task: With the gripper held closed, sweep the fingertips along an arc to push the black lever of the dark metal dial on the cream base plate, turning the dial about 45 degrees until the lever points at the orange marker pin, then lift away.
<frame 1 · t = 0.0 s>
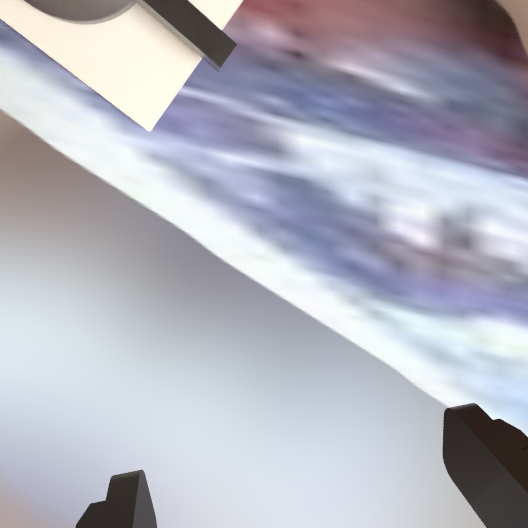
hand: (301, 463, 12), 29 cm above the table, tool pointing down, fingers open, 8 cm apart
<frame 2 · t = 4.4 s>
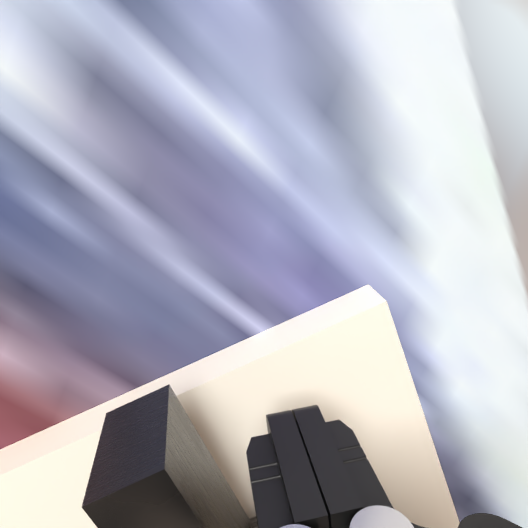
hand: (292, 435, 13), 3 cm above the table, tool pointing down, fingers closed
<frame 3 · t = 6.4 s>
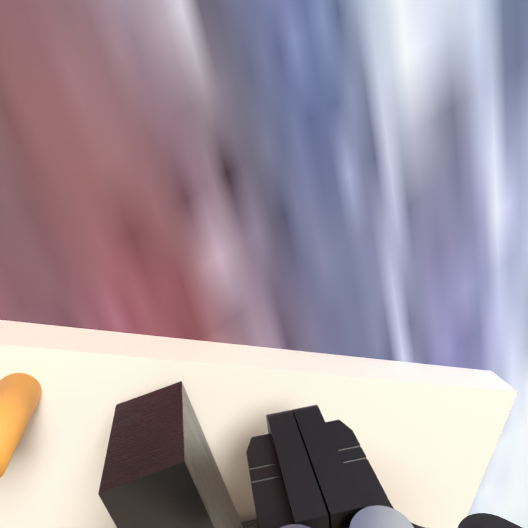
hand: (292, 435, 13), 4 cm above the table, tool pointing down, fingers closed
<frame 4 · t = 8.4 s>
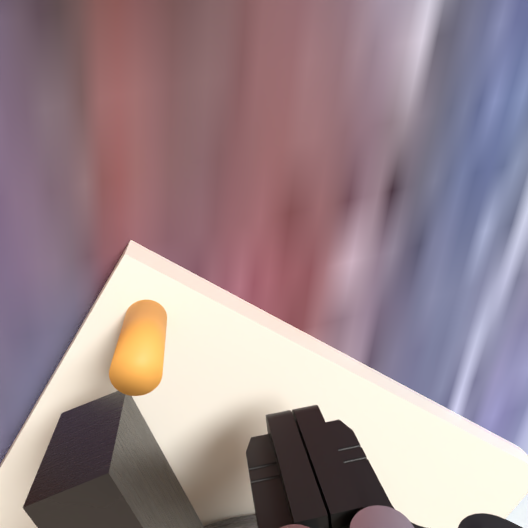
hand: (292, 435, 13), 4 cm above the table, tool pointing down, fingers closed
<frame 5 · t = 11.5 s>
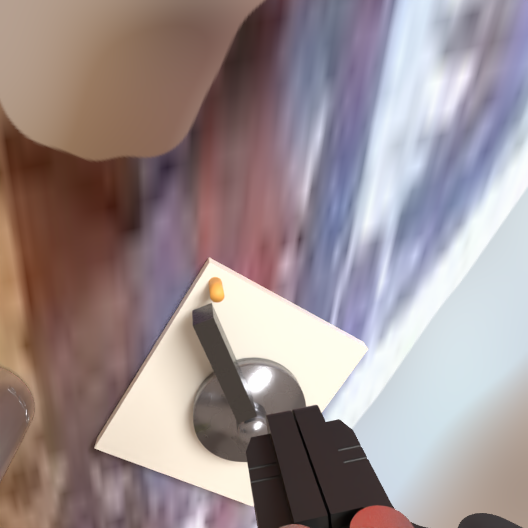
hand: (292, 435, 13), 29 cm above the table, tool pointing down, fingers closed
dial base: (246, 395, 46), on the table
dial: (239, 392, 41), point 4 cm above the table, hinge at 52.2°
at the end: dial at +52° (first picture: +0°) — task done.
